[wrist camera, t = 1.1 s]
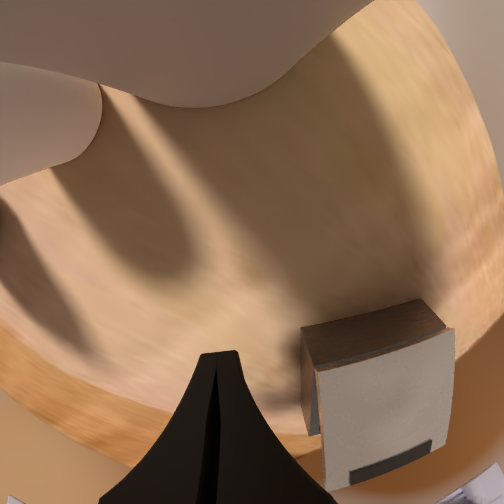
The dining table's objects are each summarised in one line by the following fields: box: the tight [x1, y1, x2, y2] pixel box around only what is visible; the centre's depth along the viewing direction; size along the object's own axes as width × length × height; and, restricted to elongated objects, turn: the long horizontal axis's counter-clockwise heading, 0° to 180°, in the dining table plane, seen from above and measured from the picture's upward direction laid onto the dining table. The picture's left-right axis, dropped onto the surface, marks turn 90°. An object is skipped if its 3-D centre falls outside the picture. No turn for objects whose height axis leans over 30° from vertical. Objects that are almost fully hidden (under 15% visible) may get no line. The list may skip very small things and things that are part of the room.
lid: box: [315, 327, 455, 492], centre depth 16 cm, size 12×12×1 cm
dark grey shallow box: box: [300, 299, 446, 436], centre depth 22 cm, size 12×12×4 cm
